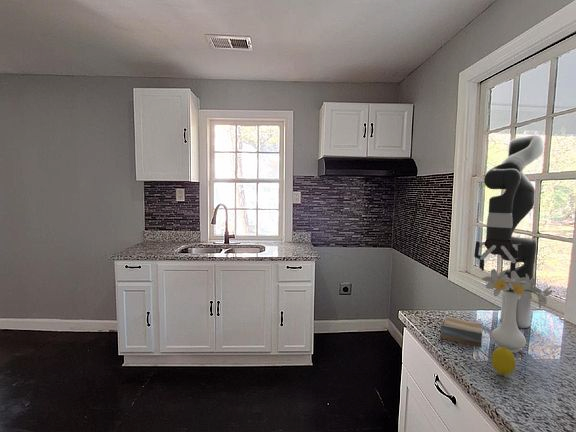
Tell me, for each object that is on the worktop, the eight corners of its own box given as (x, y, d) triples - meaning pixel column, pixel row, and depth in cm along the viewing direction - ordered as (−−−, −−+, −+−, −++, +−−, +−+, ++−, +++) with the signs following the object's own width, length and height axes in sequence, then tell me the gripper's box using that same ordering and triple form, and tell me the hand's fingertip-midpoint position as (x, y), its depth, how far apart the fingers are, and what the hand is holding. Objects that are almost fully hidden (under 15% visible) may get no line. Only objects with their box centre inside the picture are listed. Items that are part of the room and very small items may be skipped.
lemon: (515, 383, 87) (517, 354, 87) (491, 377, 90) (492, 349, 89) (513, 373, 92) (515, 345, 91) (490, 367, 95) (491, 340, 94)
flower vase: (544, 367, 95) (550, 282, 93) (473, 346, 108) (477, 270, 106) (548, 351, 105) (555, 274, 103) (483, 333, 117) (487, 264, 115)
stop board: (445, 320, 129) (446, 309, 128) (481, 327, 123) (482, 315, 122) (440, 338, 113) (441, 325, 113) (481, 346, 107) (482, 333, 107)
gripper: (522, 227, 116) (519, 273, 116) (476, 224, 123) (473, 267, 123) (525, 227, 109) (522, 276, 110) (476, 225, 116) (473, 270, 117)
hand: (496, 271), depth 116 cm, fingers open, 8 cm apart
